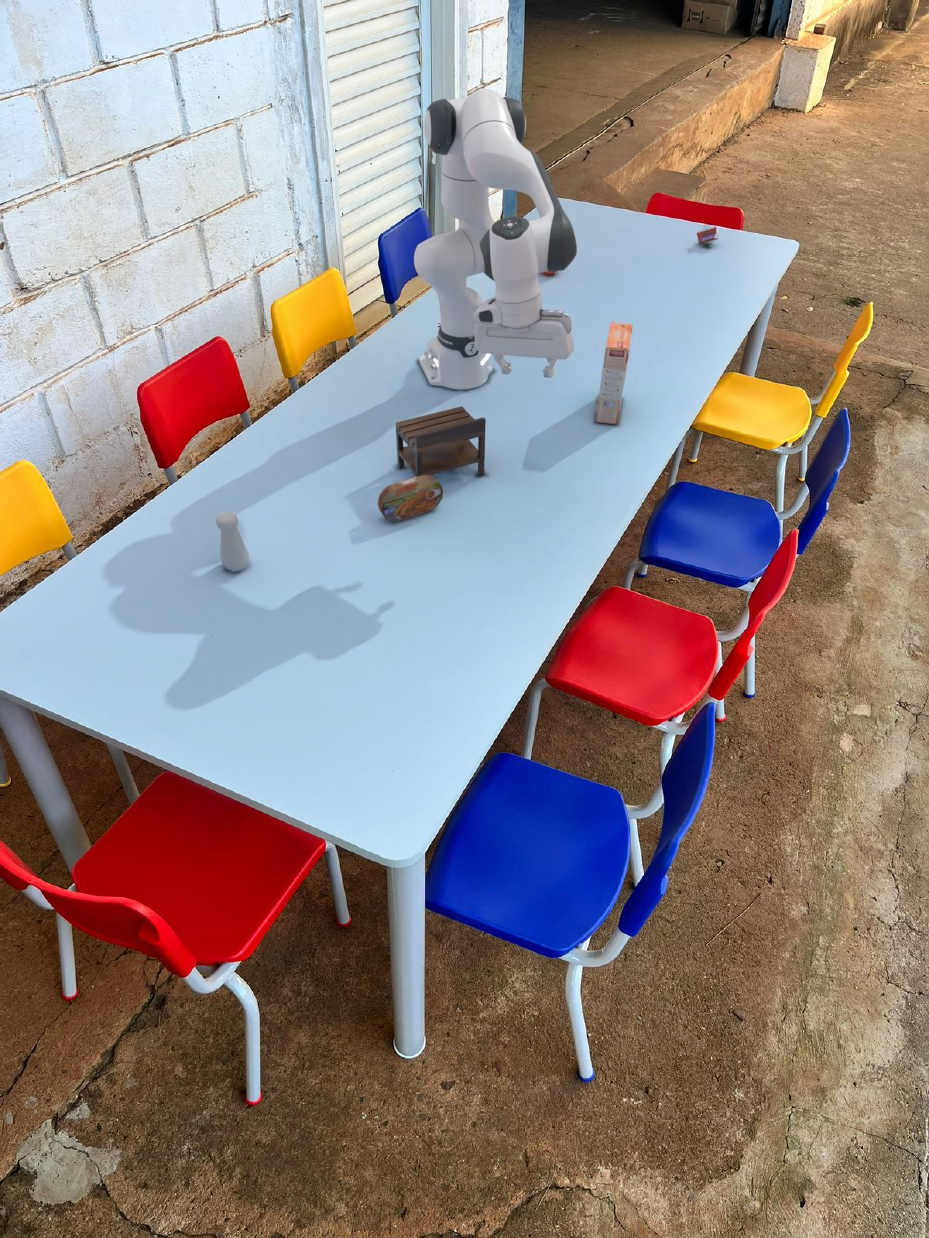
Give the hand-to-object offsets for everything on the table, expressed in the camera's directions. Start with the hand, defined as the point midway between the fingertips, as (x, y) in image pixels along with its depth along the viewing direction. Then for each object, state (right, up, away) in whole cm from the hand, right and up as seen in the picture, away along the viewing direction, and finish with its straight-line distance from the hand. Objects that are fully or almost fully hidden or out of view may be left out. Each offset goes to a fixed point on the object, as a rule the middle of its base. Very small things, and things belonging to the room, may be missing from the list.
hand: (527, 374), depth 182 cm
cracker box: (+25, +4, +50) cm, 56 cm away
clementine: (+15, +63, +112) cm, 130 cm away
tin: (-25, -26, +18) cm, 40 cm away
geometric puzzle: (+72, +81, +131) cm, 170 cm away
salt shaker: (-60, -39, +5) cm, 72 cm away
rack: (-18, -15, +30) cm, 38 cm away
